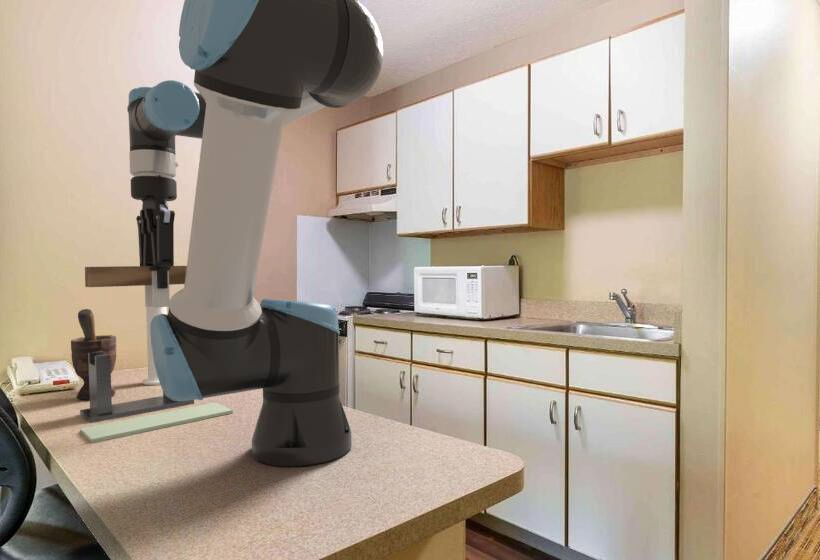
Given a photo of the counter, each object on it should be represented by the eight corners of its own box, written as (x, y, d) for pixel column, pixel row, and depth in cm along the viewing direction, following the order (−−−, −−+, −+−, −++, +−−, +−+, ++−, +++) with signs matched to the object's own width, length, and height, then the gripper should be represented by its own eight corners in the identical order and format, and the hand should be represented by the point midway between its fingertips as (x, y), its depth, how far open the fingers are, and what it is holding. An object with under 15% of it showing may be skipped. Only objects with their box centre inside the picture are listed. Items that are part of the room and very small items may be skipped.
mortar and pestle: (124, 399, 113) (121, 307, 113) (77, 407, 108) (74, 310, 107) (114, 390, 122) (111, 304, 122) (70, 396, 117) (67, 306, 116)
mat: (232, 413, 102) (232, 410, 102) (91, 442, 86) (91, 439, 86) (215, 405, 108) (215, 402, 108) (80, 431, 91) (80, 428, 91)
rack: (194, 403, 110) (192, 346, 109) (89, 422, 97) (87, 357, 96) (180, 396, 116) (178, 342, 115) (80, 414, 103) (78, 353, 102)
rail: (219, 282, 102) (219, 265, 102) (90, 287, 87) (89, 266, 87) (212, 282, 105) (212, 265, 105) (85, 286, 90) (84, 267, 90)
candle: (145, 380, 133) (142, 281, 132) (175, 378, 135) (173, 280, 134) (139, 386, 126) (137, 282, 125) (172, 384, 128) (169, 281, 127)
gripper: (191, 173, 92) (195, 307, 93) (160, 185, 104) (163, 303, 105) (146, 168, 87) (150, 310, 88) (118, 181, 99) (121, 306, 100)
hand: (157, 306), depth 96 cm, fingers closed on rail, 3 cm apart
